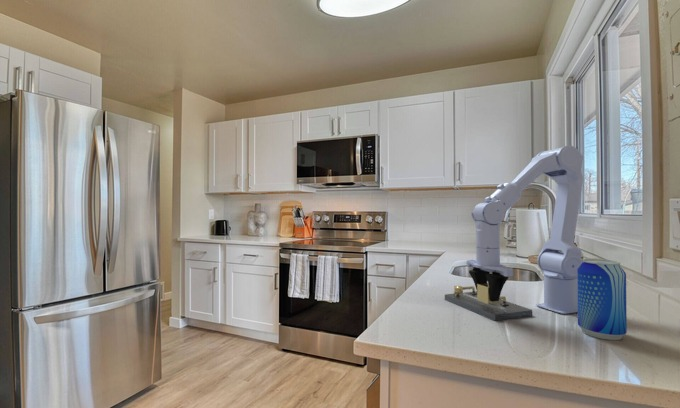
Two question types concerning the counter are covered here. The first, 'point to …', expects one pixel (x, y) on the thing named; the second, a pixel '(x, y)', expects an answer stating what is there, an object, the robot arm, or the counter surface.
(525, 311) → the bolt plate
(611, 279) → the beer can
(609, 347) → the counter surface
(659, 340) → the counter surface
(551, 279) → the robot arm
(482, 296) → the leg
